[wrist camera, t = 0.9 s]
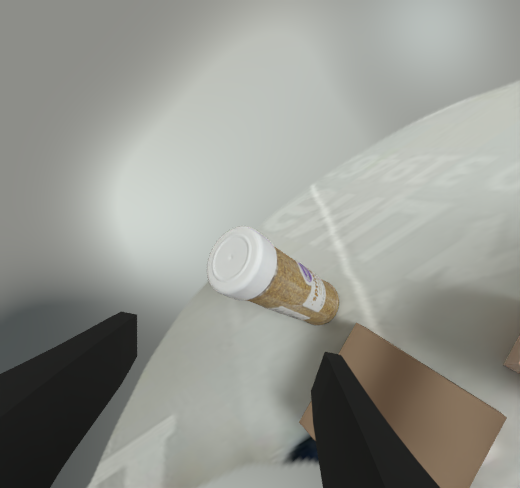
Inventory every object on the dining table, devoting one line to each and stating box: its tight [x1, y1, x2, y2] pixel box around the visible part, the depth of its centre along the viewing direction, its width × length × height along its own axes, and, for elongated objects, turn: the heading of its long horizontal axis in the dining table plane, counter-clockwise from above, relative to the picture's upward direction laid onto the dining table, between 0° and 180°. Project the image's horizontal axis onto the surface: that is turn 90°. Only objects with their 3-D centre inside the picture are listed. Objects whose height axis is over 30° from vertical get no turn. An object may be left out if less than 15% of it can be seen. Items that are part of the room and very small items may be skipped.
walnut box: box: [299, 323, 506, 488], centre depth 17 cm, size 9×9×3 cm
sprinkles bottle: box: [207, 226, 339, 325], centre depth 20 cm, size 5×5×14 cm
